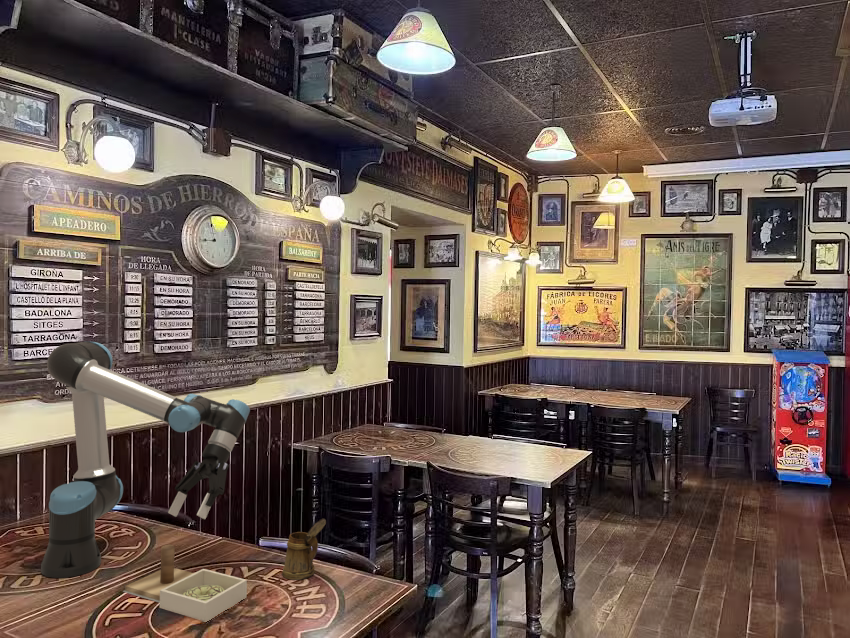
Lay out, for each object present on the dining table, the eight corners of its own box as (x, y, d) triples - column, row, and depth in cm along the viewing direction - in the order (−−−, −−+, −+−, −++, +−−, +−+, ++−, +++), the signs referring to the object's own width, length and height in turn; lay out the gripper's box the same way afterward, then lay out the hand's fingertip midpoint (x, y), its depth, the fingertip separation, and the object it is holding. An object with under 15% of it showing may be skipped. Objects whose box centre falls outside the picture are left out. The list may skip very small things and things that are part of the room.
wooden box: (159, 610, 159) (159, 590, 159) (202, 586, 172) (203, 568, 172) (205, 623, 153) (205, 603, 153) (246, 598, 166) (246, 579, 166)
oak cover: (125, 590, 167) (126, 551, 167) (167, 570, 181) (168, 533, 181) (165, 602, 162) (166, 561, 161) (206, 580, 175) (207, 543, 175)
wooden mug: (311, 587, 174) (312, 522, 174) (275, 575, 181) (277, 513, 181) (332, 576, 182) (334, 514, 181) (297, 564, 189) (299, 505, 189)
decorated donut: (232, 606, 162) (232, 592, 162) (191, 619, 155) (191, 604, 155) (215, 592, 170) (216, 578, 170) (175, 603, 163) (176, 589, 163)
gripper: (254, 453, 186) (223, 523, 174) (202, 454, 200) (170, 518, 188) (237, 441, 181) (203, 512, 169) (185, 442, 195) (150, 508, 184)
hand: (186, 516), depth 179 cm, fingers open, 13 cm apart
